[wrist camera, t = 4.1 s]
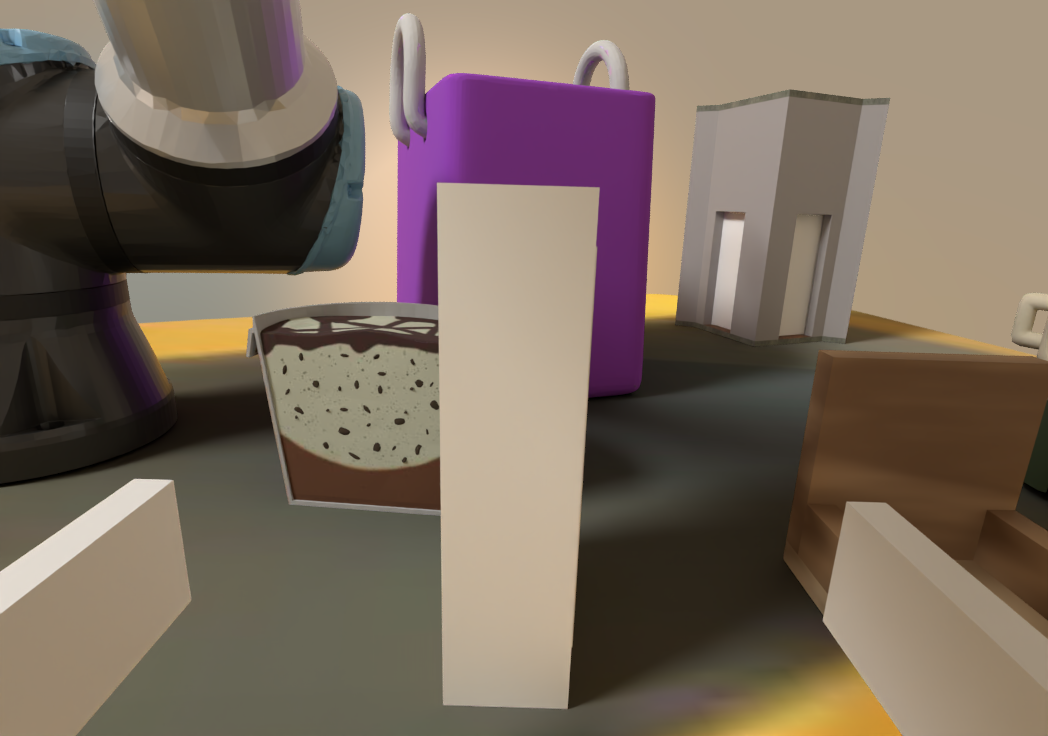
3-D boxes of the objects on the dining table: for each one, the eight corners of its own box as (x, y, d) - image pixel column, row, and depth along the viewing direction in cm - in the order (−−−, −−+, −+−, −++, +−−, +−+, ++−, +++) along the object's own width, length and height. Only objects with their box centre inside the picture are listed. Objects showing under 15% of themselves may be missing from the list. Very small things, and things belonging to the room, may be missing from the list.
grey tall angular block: (844, 341, 73) (888, 100, 66) (848, 358, 65) (899, 83, 57) (677, 322, 82) (699, 107, 74) (662, 335, 74) (684, 94, 66)
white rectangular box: (465, 558, 26) (465, 189, 22) (559, 561, 26) (579, 193, 22) (438, 704, 19) (430, 182, 14) (572, 709, 19) (605, 187, 14)
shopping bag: (354, 345, 64) (338, 43, 56) (523, 329, 75) (530, 74, 67) (464, 431, 41) (464, -63, 33) (684, 389, 52) (726, 11, 44)
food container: (507, 467, 36) (511, 305, 33) (493, 519, 30) (495, 327, 27) (312, 454, 37) (300, 296, 34) (261, 502, 31) (241, 315, 28)
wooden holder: (783, 558, 27) (818, 350, 24) (974, 564, 27) (1032, 356, 24) (1042, 923, 13) (1192, 538, 11) (1432, 936, 13) (1683, 553, 11)
